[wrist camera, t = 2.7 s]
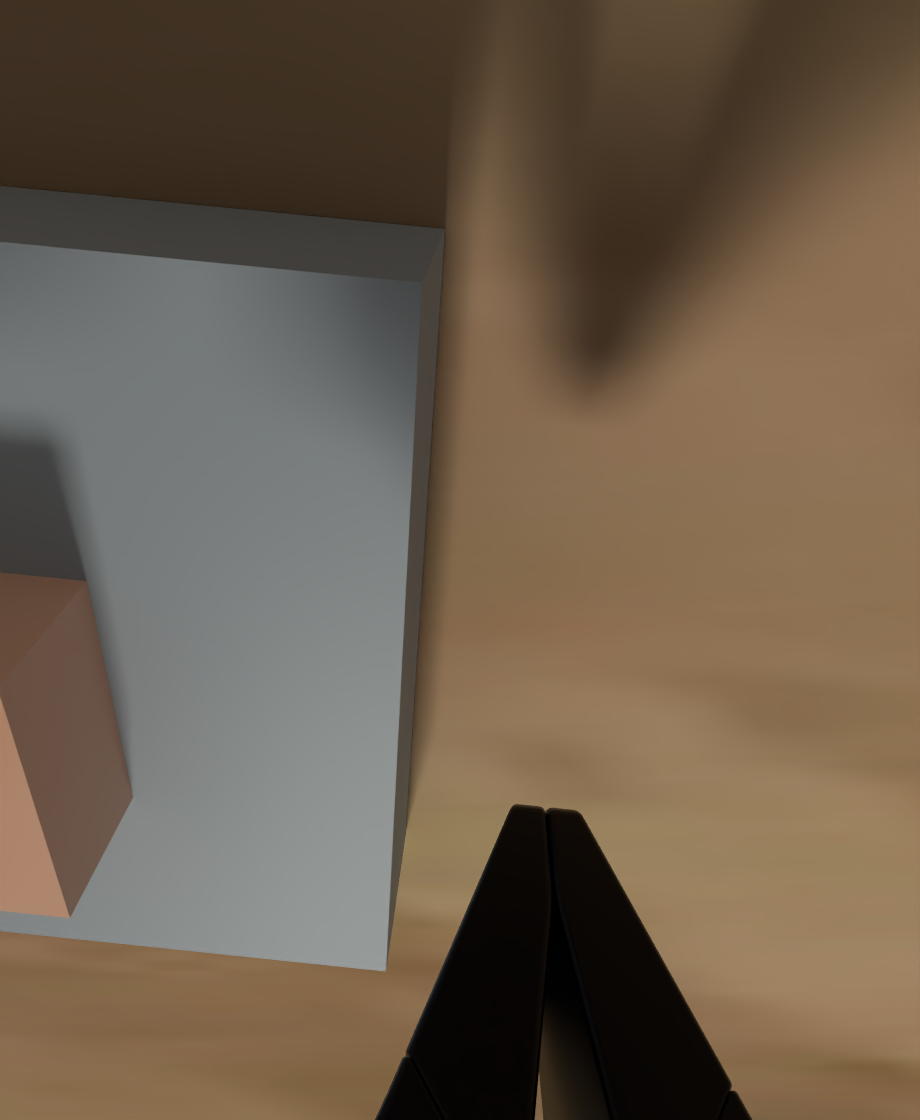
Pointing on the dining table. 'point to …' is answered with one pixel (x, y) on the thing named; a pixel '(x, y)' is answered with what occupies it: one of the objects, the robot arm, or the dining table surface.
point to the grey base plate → (230, 548)
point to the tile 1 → (54, 746)
